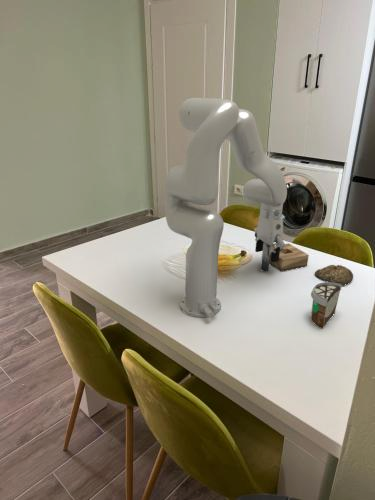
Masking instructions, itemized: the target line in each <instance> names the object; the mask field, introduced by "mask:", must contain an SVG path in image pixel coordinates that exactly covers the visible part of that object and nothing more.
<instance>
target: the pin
mask: <svg viewBox="0 0 375 500" xmlns="http://www.w3.org/2000/svg"><path fill="white" fill-rule="evenodd" d="M261 252H262V254H261V265H260V270H261V271H262V272H269V271H270V255H271V246H270V245H268V244H267V243H265V242H263V251H261Z"/></svg>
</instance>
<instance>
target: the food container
mask: <svg viewBox="0 0 375 500" xmlns="http://www.w3.org/2000/svg"><path fill="white" fill-rule="evenodd" d="M341 290H342V286H341V284H338V283H332V282H326V281H324V282H320V283H317V284H316V285H315V286H314V287H313V288H312V290H311V293H310V297H311V299H312V305H311V306H312V307H311V317H310V318H311V322H312V323H313V322H314V323H315V324H316V325H315V324H314V323H313V324H314V325H315V326H317V327H319V328H320V327H321V329H324V328H325V327H326V325H327V324H328V323H329V322H330V321H329V319H330V318H331V317H332V316H333V314H335V313H336V309H337V306H338V302H339V296H340V293H341ZM333 317H334V316H333ZM333 317H332V318H333ZM332 318H331V319H332ZM331 319H330V320H331ZM328 321H329V322H328ZM327 322H328V323H327ZM324 326H325V327H324ZM323 327H324V328H323Z"/></svg>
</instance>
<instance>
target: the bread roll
mask: <svg viewBox="0 0 375 500" xmlns="http://www.w3.org/2000/svg"><path fill="white" fill-rule="evenodd" d="M315 275H316V276H317V277H316V276H315ZM314 276H315V277H316V278H318V279H320V280H322V281H324V280H325V281H324V282H326V281H328V282H332V283H338V284H341V285H345V284H348V283H349V284H351V283H352V282H353V279H354V274H353V272H352V270H351V269H350V268H348V267H346V266H343V265H342V264H340V265H339V264H336V265H335V264H329V265H327V266H325V267H323V268H318V269H316V270H315V271H314ZM351 281H352V282H351ZM350 282H351V283H350ZM349 284H348V285H349ZM345 286H346V285H345Z"/></svg>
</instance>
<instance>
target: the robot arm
mask: <svg viewBox="0 0 375 500" xmlns="http://www.w3.org/2000/svg"><path fill="white" fill-rule="evenodd" d="M178 118H179V122H180V124H181V126H182V127H183V128H184V129H185V130H186V131H189V132H192V133H193V134H192V137H191V138H190V139H189V142H188V144H187V145H186V149H185V150H186V151H185V165H183V164H179V165H175V166H173V167H171V168H170V170H169V171H168V172H167V173H166V175H165V179H164V182H163V184H164V185H163V190H164V191H163V193H164V195H163V196H164V208H165V219H166V223H167V226H168V229H170V230H171V231H172V232H173V233H175V234H178V235H180V236H184V237H186V238H188V239H190V240H191V244H190V245H189V247H188V248H187V249H186V252H185V286H184V287H185V288H184V289H185V295H184V297H183V298H181V300H180V303H179V307H180V309H181V311H183V313H185V314H186V315H188V316H192V317H195V318H209V319H210V318H213V316H215V315H216V314H218V313H219V312H220V310H221V307H222V303H221V301H220V299H219V298H218V297H217V294H218V293H217V291H218V289H217V288H218V271H219V268H218V267H219V252H220V251H219V250H220V244H221V239H222V236H223V231H224V225H225V224H224V219H223V217H222V216H221V214H220V213H218V212H217V211H215V210H213V209H211V208H207V207H203V206H209V205H212V204H214V203H215V202H216V200H217V198H218V194H219V159H220V158H219V156H220V150H221V148H222V146H223V144H224V142H225V140H228V142H229V145H230V147H231V150H232V153H233V155H234V158H235V162H236V163H237V165H238V166H239V167H240V168H242V169H243V170H244V171H246V172H248V173H249V174H251V175H253V176H255V177H256V178H253V179H250V180H248V181H247V182H245V184H244V185H243V187H242V195H243V197H244V198H245V200H247V201H249V202H251V203H255V204H260V209H259V210H260V211H259V216H258V221H257V226H256V227H253V231H254V237H255V238H254V239H255V252H256V253H259V252H263V242H265V243H267V244H268V245H270V246H271V248H272V251H273V252H271V262H277V261H279V253H280V252H281V250H282V249H283V247H284V245H285V244H286V243H285V242H284V241H283V237H284V220H283V218H282V215H283V206H284V204H285V202H286V199H287V196H288V188H287V183H286V179H285V175H284V172H283V171H282V170H281V169H280V167H279V166H278V164H276V163H275V162H274V161H273V160H272V158H271V157H270V156H268V155H267V154H266V153H265V152H264V148H263V145H262V141H261V137H260V134H259V130H258V126H257V123H256V119H255V117H254V115H253V113H252V112H251V111H249V110H247V109H244V108H239V106H238V104H237V103H235V102H234V101H232V100H230V99H225V98H216V97H215V98H213V97H212V98H211V97H210V98H208V97H207V98H205V97H191V98H188V99H186V100H184V102H182V104H181V105H180V107H179V111H178ZM274 246H277V248H276V249H275V247H274Z"/></svg>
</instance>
